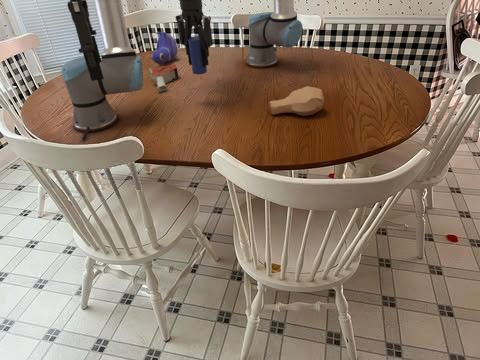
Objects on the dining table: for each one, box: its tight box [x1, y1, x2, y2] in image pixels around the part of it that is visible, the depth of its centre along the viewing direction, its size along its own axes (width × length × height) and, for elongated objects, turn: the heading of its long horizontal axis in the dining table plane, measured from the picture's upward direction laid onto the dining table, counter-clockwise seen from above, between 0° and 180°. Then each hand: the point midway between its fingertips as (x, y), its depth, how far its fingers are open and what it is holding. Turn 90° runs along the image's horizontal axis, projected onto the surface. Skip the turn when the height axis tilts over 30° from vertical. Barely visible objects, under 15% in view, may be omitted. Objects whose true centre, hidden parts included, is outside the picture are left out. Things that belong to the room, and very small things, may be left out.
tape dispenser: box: [148, 64, 179, 93], centre depth 162 cm, size 18×5×20 cm
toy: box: [150, 31, 178, 67], centre depth 182 cm, size 10×17×25 cm
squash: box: [268, 85, 325, 117], centre depth 129 cm, size 11×20×9 cm, turn 92°
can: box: [188, 35, 208, 75], centre depth 132 cm, size 6×6×12 cm
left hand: (97, 70), depth 88 cm, fingers open, 13 cm apart
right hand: (198, 64), depth 134 cm, fingers closed on can, 5 cm apart
